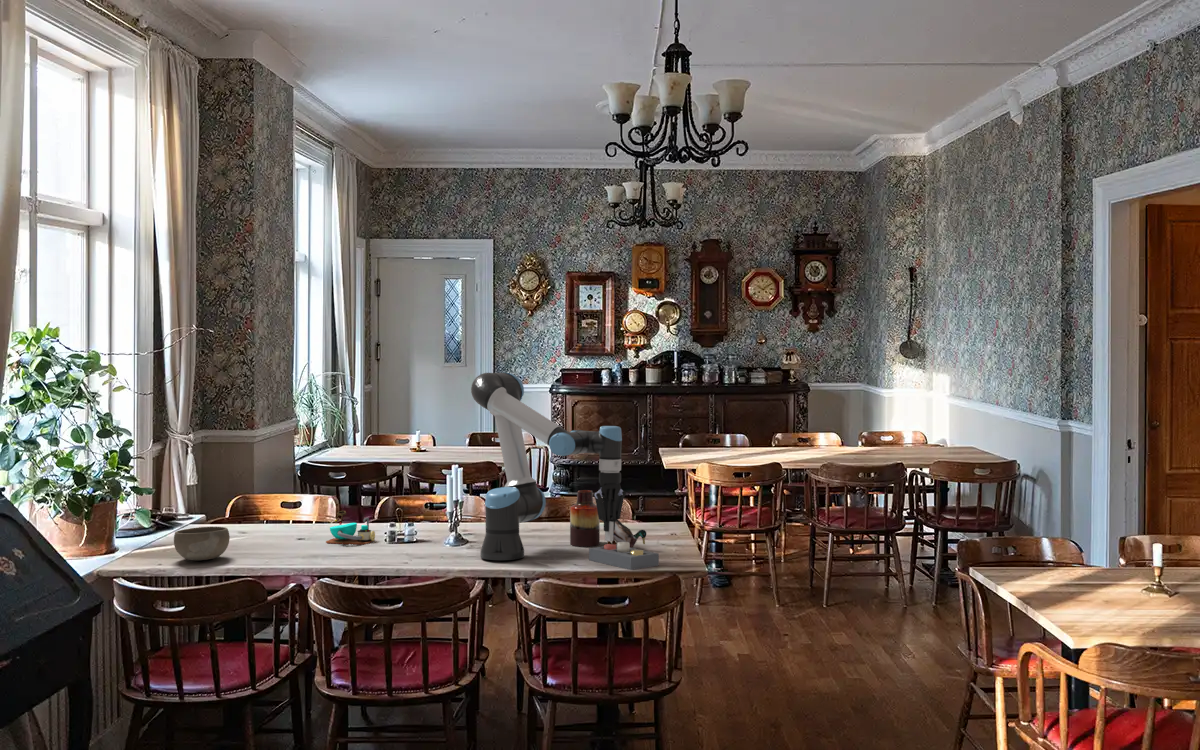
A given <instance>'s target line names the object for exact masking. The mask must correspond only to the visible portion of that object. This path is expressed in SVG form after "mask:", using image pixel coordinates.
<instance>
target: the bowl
mask: <svg viewBox="0 0 1200 750" xmlns="http://www.w3.org/2000/svg"><path fill="white" fill-rule="evenodd" d="M230 538H231V537H230V532H229V529H228V527H226V526H225V527H223V526H199V527H192V528H190V527H189V528H184V529H180V530H177V531H175V532H174V535H173V545H174V548H175V551H176V552H177V553H178V555H180V557H182V558H183V559H185V560H189V561H205V560H206V561H207V560H213V559H217V558H218V557H220V556H222V555H223V554H224V553H225V552H226V550H227V548H228V546H229V544H230Z"/></svg>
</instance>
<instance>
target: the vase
mask: <svg viewBox="0 0 1200 750" xmlns="http://www.w3.org/2000/svg"><path fill="white" fill-rule="evenodd" d="M569 513H570V514H569V516H570V517H569V523H570V524H569V525H570V527H569V531H570V532H569V541H570V546H571V545H572V547H575V548H576V547H577V548H595V547H599V546H600V543H601V542H600V538H601V535H600V532H601V531H600V529H601V528H600V523H601V522H600V521H601V520H599V517H598V511H597V505H596V503H594V496H593V490H588V489H587V490H586V489H583V490H582V489H581V490H578V491H577V494H576V503H574V504H573V505H571V506H570V507H569Z"/></svg>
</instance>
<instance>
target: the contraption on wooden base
mask: <svg viewBox="0 0 1200 750" xmlns="http://www.w3.org/2000/svg"><path fill="white" fill-rule="evenodd" d="M336 515H337V516H336V518H335V519H334V522H337V520H338V517H339V516H340V522H338V524H339V525H334V526H331V527H329V530H330V533H331V535H332V537H334V538H330V539H329V540H326V541H325V544H328V545H349V544H353V545H354V546H355V545H357V546H358V545H359V546H363V545H364V546H365V545H369V544H371V543H373V542H374V541H375V538H376V532H375V530H373V531H372V530H371V529H370V528H369V527H370V525H369V524H370V523H369V522H370V518H369V517H365V518H363V523H366V524H362V525H361V526H360V528H361V529H359V530H357V528H358V527H357V526H358V523H357V522H349V523H344V524H343V522H342V520H343V516H345V515H347V512H346V510H340V511H338V512H337V513H336ZM356 531H357V532H356ZM356 533H357V535H355V534H356ZM353 545H352V546H353Z"/></svg>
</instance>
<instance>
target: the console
mask: <svg viewBox="0 0 1200 750" xmlns="http://www.w3.org/2000/svg"><path fill="white" fill-rule="evenodd" d="M631 550H641V549H638V548H636V547H635V548H634V547H631V548H630V552H625V553H621V552H617V544H616V549H613V550H607V549H604V545H603V546H595V547H588V560H589V561H591V562H596V563H600V564H604V565H605V564H606V565H608V566H613V567H618V568H621V569H625V570H630V571H631V570H637V569H644V568H651V567H658V566H659V564H660V561H659V560H660V559H659V553H658V552H653V551H650V550H649V551H648V550H644V549H642V550H643V555H638V556H635V555H631Z"/></svg>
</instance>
